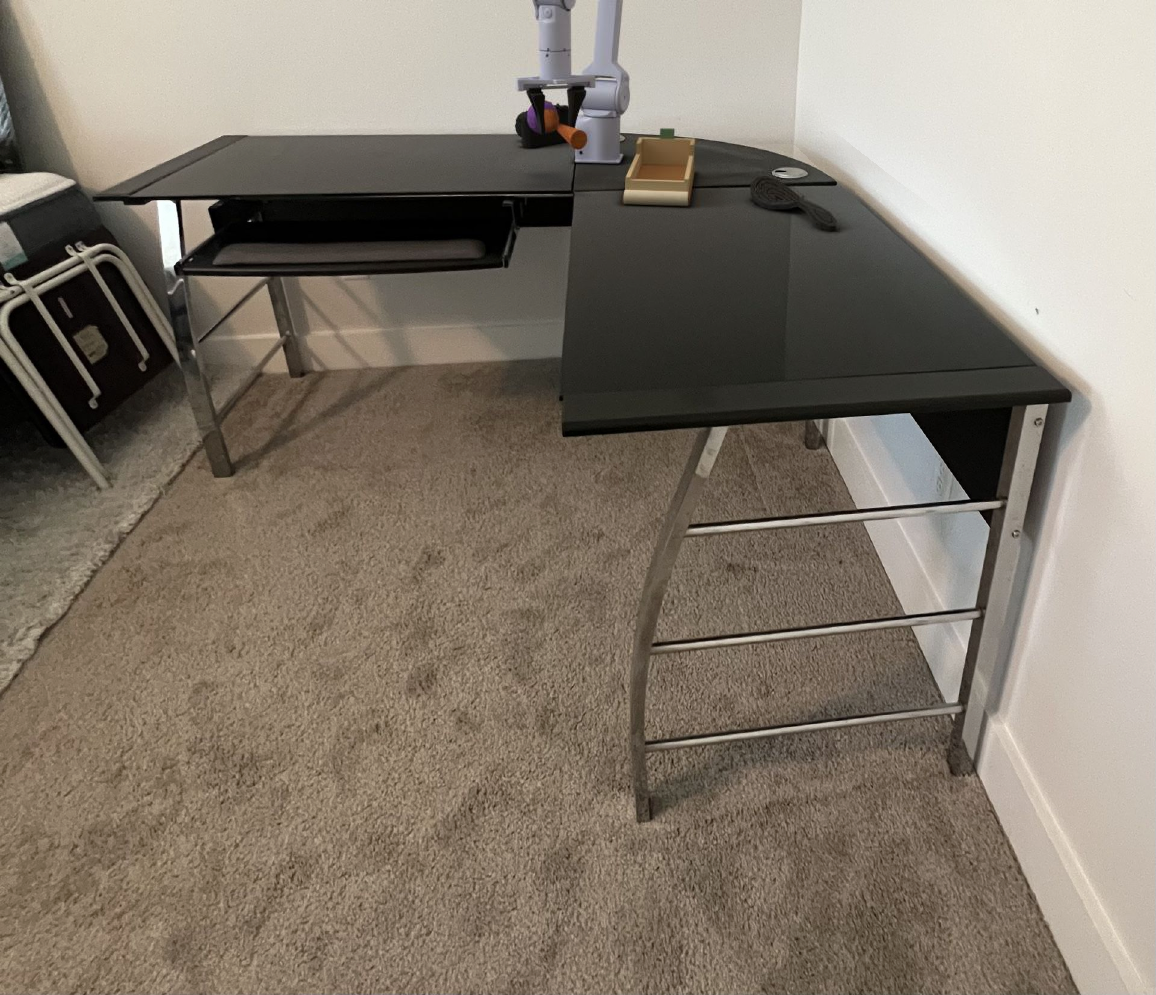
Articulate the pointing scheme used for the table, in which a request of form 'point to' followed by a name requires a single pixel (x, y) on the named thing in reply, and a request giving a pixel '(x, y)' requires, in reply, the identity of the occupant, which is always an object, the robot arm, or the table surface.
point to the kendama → (557, 126)
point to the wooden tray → (661, 171)
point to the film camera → (536, 139)
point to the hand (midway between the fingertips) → (556, 131)
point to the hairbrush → (788, 200)
